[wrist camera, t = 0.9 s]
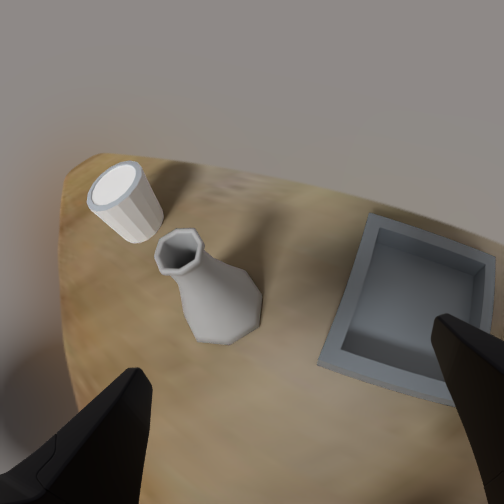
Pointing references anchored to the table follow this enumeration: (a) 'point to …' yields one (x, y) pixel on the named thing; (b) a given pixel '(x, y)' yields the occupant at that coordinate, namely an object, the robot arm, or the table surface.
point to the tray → (406, 307)
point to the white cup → (126, 202)
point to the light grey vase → (209, 289)
